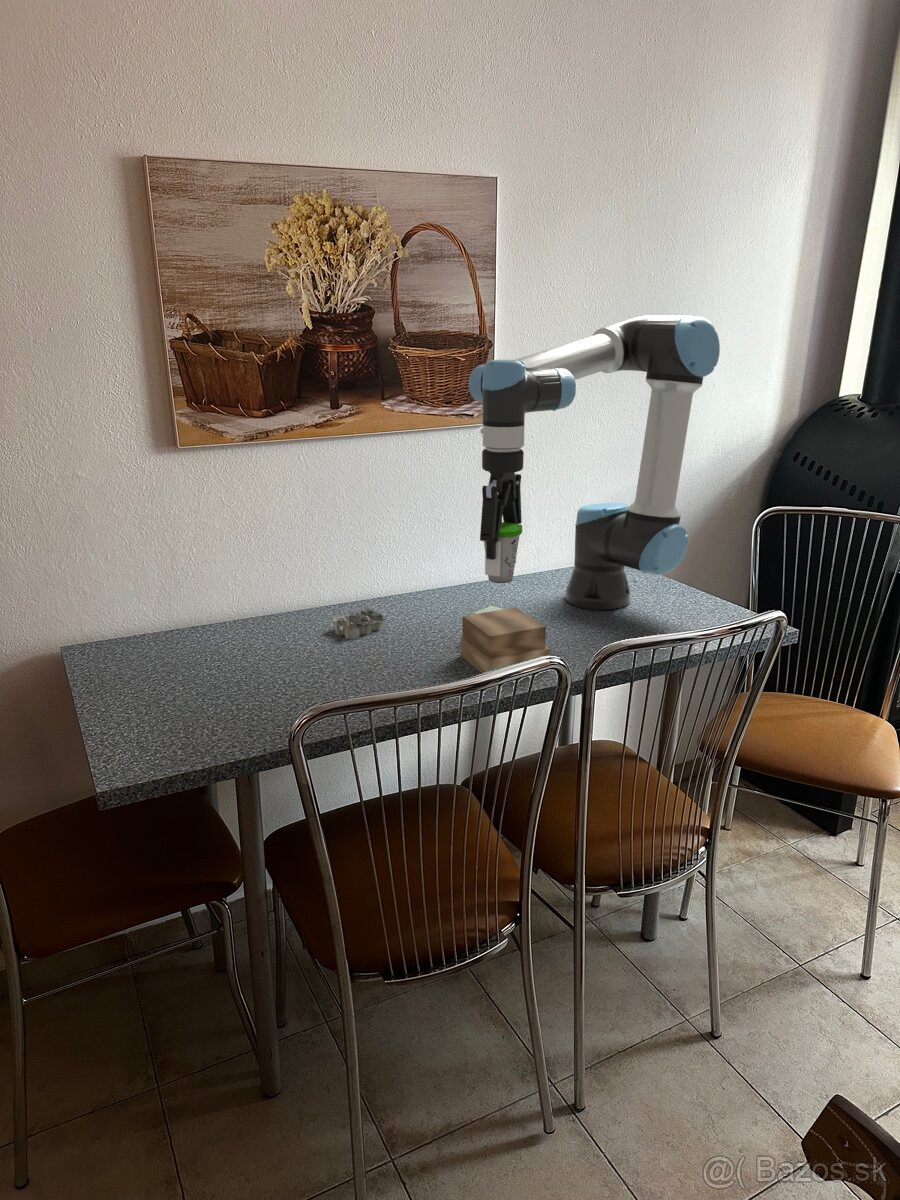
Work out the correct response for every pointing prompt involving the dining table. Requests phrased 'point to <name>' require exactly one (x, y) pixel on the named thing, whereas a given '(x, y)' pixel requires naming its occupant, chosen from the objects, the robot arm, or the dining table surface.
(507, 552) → the cup
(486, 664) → the block
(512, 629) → the tower top
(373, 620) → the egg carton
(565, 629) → the dining table surface
